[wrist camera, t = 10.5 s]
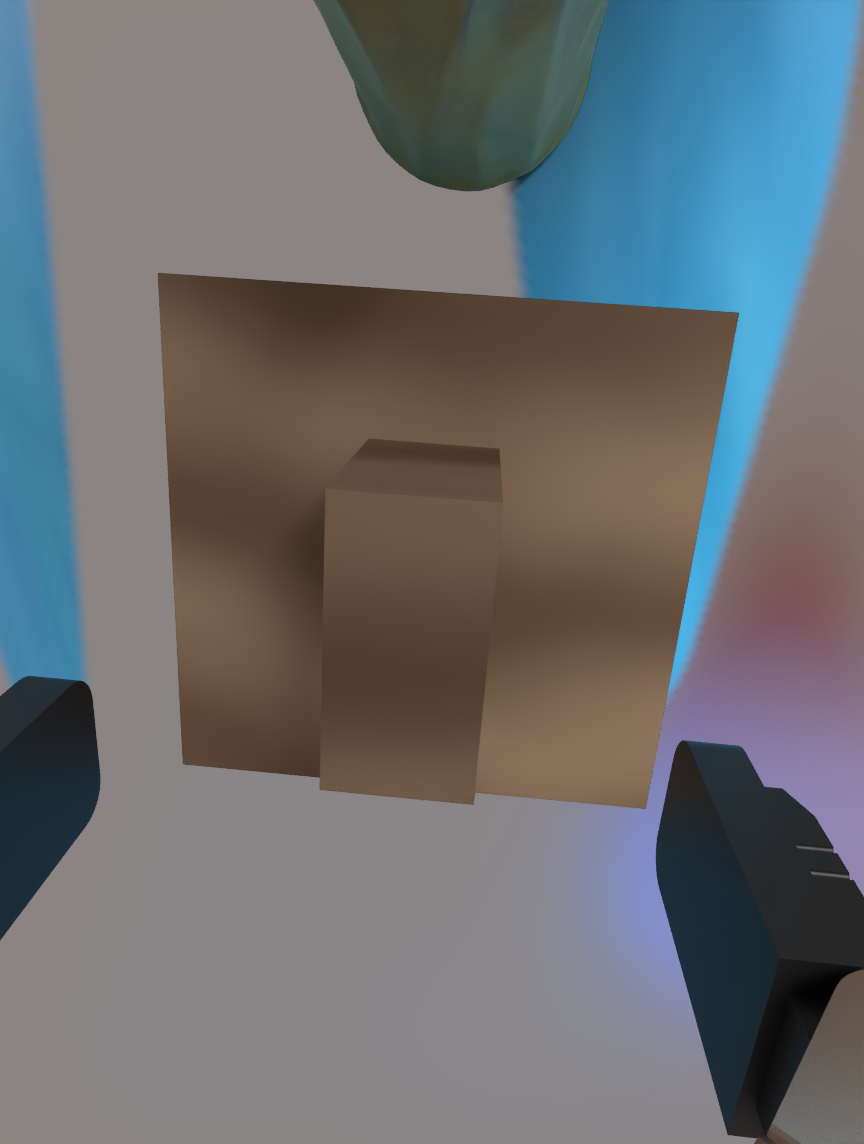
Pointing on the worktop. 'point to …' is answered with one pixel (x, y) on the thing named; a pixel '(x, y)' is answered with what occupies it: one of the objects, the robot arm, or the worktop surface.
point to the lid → (433, 532)
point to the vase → (467, 80)
